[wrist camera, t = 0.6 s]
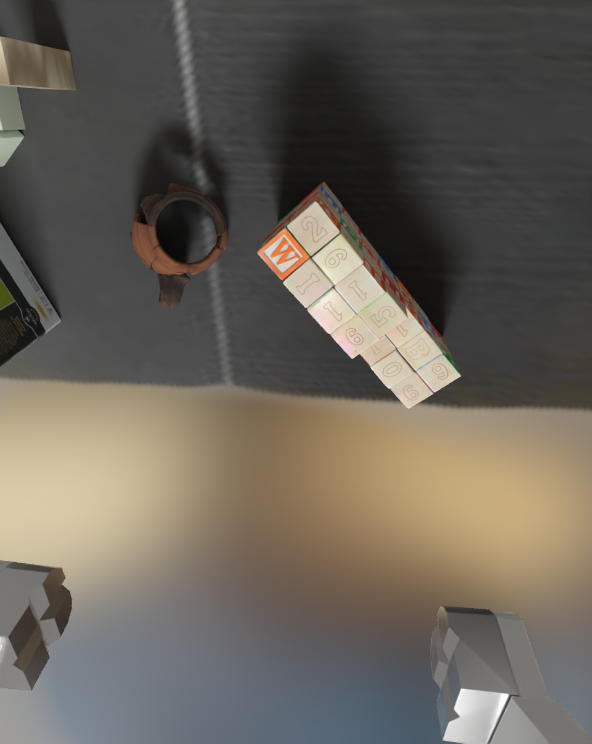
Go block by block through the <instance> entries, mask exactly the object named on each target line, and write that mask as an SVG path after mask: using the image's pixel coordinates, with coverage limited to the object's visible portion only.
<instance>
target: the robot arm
mask: <svg viewBox="0 0 592 744" xmlns="http://www.w3.org/2000/svg"><path fill="white" fill-rule="evenodd" d="M64 580H65V575H64V572H63V570H62V568H60V567H51V566H42V565H34V564H26V563H17V562H10V561H0V688H8V689H20V690H32V689H33V687H34V685H35V683H36V681H37V680H38V678H39V676H40V674H41V672H42V671H43V669H44V667H45V665H46V663H47V661H48V660H49V650H48V646H49V645H51V644H52V643H53V642H55V641H56V640H57V639H58V638H60V637H61V635H62V633H63V632H64V630H65V628H66V626H67V624H68V621H69V617H70V613H71V609H72V597H71V594H70V591H69V590H68V589H67V588H65V587H64V586H63V585H62V583H63V581H64ZM437 617H438V623H439V627H437V628H436V629H434V630H433V635H432V639H431V666H432V673H433V679H434V680H435V682H436V683H437V684H438V685H439V687H440V688H441V691H440V694H439V697H438V700H437V707H438V713H439V719H440V725H441V732H442V738H443V740H445V741H452V742H459V743H465V744H592V738H591V737H590V736H589V735H588V734H587V733H586V732H585V731H584V730H583V729H582V727H581V726H580V725H579V724H578V723H577V722H576V721H575V720H574V719H573V717H572V716H571V715H570V714H569V713H568V712H567V711H566V710H565V709H564V708H563V706H562V705H561V704H560V703H559V702H558V701H552V700H550V699H549V696H548V694H547V690H546V688H545V685H544V682H543V679H542V676H541V673H540V670H539V667H538V665H537V662H536V659H535V656H534V653H533V650H532V648H531V644H530V642H529V639H528V636H527V633H526V630H525V627H524V624H523V622H522V619H521V618H520V616H519V615H518V614H516V613H511V612H498V611H490V610H486V609H474V608H462V607H449V606H442V607H441V608H440V609H439V612H438V616H437Z"/></svg>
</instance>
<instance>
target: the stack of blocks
mask: <svg viewBox="0 0 592 744" xmlns="http://www.w3.org/2000/svg"><path fill="white" fill-rule="evenodd" d="M258 254H259V255H260V257H261V258H262V259H263V260H264V261H265V262H266V263H267V264H268V266H269V267H270V268H271V269H272V270H273V271H274V272H275V273H276V275H277V276H278V277H279V278H280V279H281V280H283V284H284V285H285V286H286V287H287V288H288V289H289V290H290V292H291V293H292V294H293V295H294V296H295V297H296V298H297V299H298V300H299V301H300V302H301V303H302V304H303V306H304V307H306V308H307V311H308V312H309V313H310V314H311V316H312V317H313V318H314V319H315V320H316V321H317V322H318V323H319V324H320V325H321V326H322V327H323V328H324V330H325V331H326V332H327V333H329V334H330V335H331V336H332V338H333V339H334V340H335V341H336V342H337V343H338V344H339V345H340V346H341V347H342V349H343V350H344V351H345V352H346V353H347V354H348V355H349V356H350V357H351V358H352V359H353V358H354V357H356V356H357V355H358V354H360V355H361V356H362V357H363V358H364V360H365V361H366V362H367V363H368V364H369V365H370V368H371V369H372V370H373V371H374V372H375V374H376V375H377V376H378V377H379V378H380V379H381V381H382V382H383V383H384V384H385V385H386V386H387V387H388V388H390V389H391V390H392V391H393V393H394V394H395V395H396V396H397V397H398V398H399V400H400V401H401V402H402V403H403V404H404V405H405V407H406V408H407V409H409V408H411V407H412V406H414V405H416V404H417V403H419V402H420V401H422V400H424V399H425V398H427V397H429V396H430V395H432V394H433V393H434V392H436V391H437V390H439V389H441V388H442V387H444V386H446V385H447V384H449V383H450V382H452V381H454V380H455V379H457V378H459V377H460V376H461V374H460V372H459V370H458V367H457V365H456V363H455V361H454V360H453V359H452V357H451V354H450V352H449V350H448V348H447V346H446V344H445V341H444V340H443V337H442V336H441V335H440V334H439V332H438V331H437V330H436V329H435V327H434V326H433V325H432V324H431V322H430V321H429V319H428V317H427V316H426V314H425V313H424V312H423V311H422V309H421V308H420V307H419V305H418V304H417V303H416V301H415V300H414V299H413V298H412V296H411V295H410V294H409V292H408V291H407V290H406V288H405V287H404V286H403V284H402V283H401V282H400V280H399V279H398V278H397V277H396V276H395V275H394V274H393V273H392V271H391V270H390V269H389V267H388V266H387V265H386V263H385V262H384V261H383V259H382V258H381V257H380V255H378V253H377V252H376V251H375V249H374V248H373V247H372V245H371V244H370V243H369V241H368V240H367V239H366V238H365V236H364V235H363V234H362V232H361V231H360V229H359V227H358V226H357V225H356V223H355V222H354V221H353V219H352V218H351V217H350V215H349V214H348V213H347V211H346V210H345V209H344V208H343V206H342V204H341V203H340V202H339V200H338V199H337V198H336V196H335V195H334V194H333V192H332V191H331V190H330V188H329V187H328V186H327V185H326V183H325V182H322V183H321V184H320V185H319V186H318V187H317V188H315V189H314V190H313V191H312V192H311V193H310V194H309V195H308V196H306V197H305V198H304V199H303V200H302V201H301V202H300V203H299V204H298V205H297V206H296V207H295V208H294V209H293V210H291V211H290V212H289V213H288V214H287V215H286V216H285V217H283V218H282V219H281V220H280V221H279V222H278V223H277V224H276V226H275V227H274V229H273V230H272V232H271V233H270V234H269V235H268V236H267V238H266V239H265V241H264V242H263V245H262V246H261V248H260V249H259V250H258Z"/></svg>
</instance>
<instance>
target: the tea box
mask: <svg viewBox="0 0 592 744" xmlns="http://www.w3.org/2000/svg"><path fill="white" fill-rule="evenodd" d="M60 321H61V319H60V318H59V316H58V315H57V313H56V311H55V310H54V308H53V307H52V305H51V303H50V302H49V300H48V299H47V297H46V295H45V294H44V292H43V291H42V289H41V287H40V286H39V284H38V282H37V281H36V279H35V278H34V276H33V275H32V273H31V271H30V270H29V268H28V266H27V265H26V263H25V262H24V260H23V258H22V257H21V255H20V253H19V252H18V250H17V249H16V247H15V245H14V244H13V242H12V241H11V239H10V237H9V236H8V234H7V233H6V231H5V229H4V228H3V226H2V225H1V223H0V368H1V367H2V366H4V365H5V364H6V363H7V362H9V361H10V360H11V359H13V358H14V357H15V356H17V355H18V354H19V353H21V352H22V351H23V350H25V349H26V348H27V347H29V346H30V345H31V344H33V343H34V342H35V341H37V340H38V339H39V338H41V337H42V336H43V335H45V334H46V333H47V332H48V331H49V330H51V329H52V328H53V327H55V326H56V325H57V324H58V323H59V322H60Z"/></svg>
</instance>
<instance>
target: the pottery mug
mask: <svg viewBox="0 0 592 744" xmlns="http://www.w3.org/2000/svg"><path fill="white" fill-rule="evenodd" d="M177 200H188V201H192V202H195V203H197V204H199V205H200V206H202V207H203V208H204V209H205V210H206V211H207V212H208V214H209V215H210V216H211V218H212V220H213V223H214V225H215V229H216V234H217V235H218V236H217V243H216V245H215V247H213V249H212V250H211V252H210V253H209V254H208V255H207V256H206V257H205V258H204V259H202V260H200V261H198V262H194V263H183V262H179V261H177V260H175V259H173V258H171V257H170V256H169V255H168V254H167V253H166V252H165V251H164V250H163V249H162V247H161V245H160V243H159V241H158V238H157V233H156V223H157V219H158V216H159V214H160V212H161V211H162V210H163V209H164V208H165V207H166V206H167V205H168V204H170V203H171V202H173V201H177ZM140 206H141V207H142V208H143V212H144V215H145V217H146V221H147V224H144V223H141V218H142V217H141V215H139V214H138V213H136V214H135V216H134V218H133V223H132V231H131V240H132V243H133V246H134V249H135V251H136V253H137V254H138V255H139V257H140V258H141V260H142V261H143V262H144V263H145V265H146V266H147V267H148V268H150V269H151V270H153V271H154V272H156V273H157V274H158V278H159V283H160V297H159V303H160V304H161V305H162V306H164V307H165V308H173V307H175V306H178V305H179V303H180V301H181V297H182V293H183V288H184V286H185V284H186V283H187V282H189V281H190V277H188V276H187V275H186V273H187V272H189V273H190V274H191V275H195V274H197V273H200V272H201V271H203V270H205V269H207V268H208V267H209V266H210V265H212V264H213V263H214V262H215V261H216V260H217V259H218V257H219V256H220V254H221V252H222V250H226V247H227V241H228V231H227V223H226V221H225V219H224V216H223V215H222V213H221V211H220V209H219V208H218V206H217V205H216V204H215V203H214V202H213V201H212V200H211V199H210V198H209V197H208V196H207V195H203V194H202V193H201V192H200V191H199V190H196V189H193V188H189V187H185V186H181V185H177V184H173V183H169V187H168V191H167V194H166V195H162V194H153V195H152V196H146V197H145V198H144V199H143V200H142V202H141V203H140Z"/></svg>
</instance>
